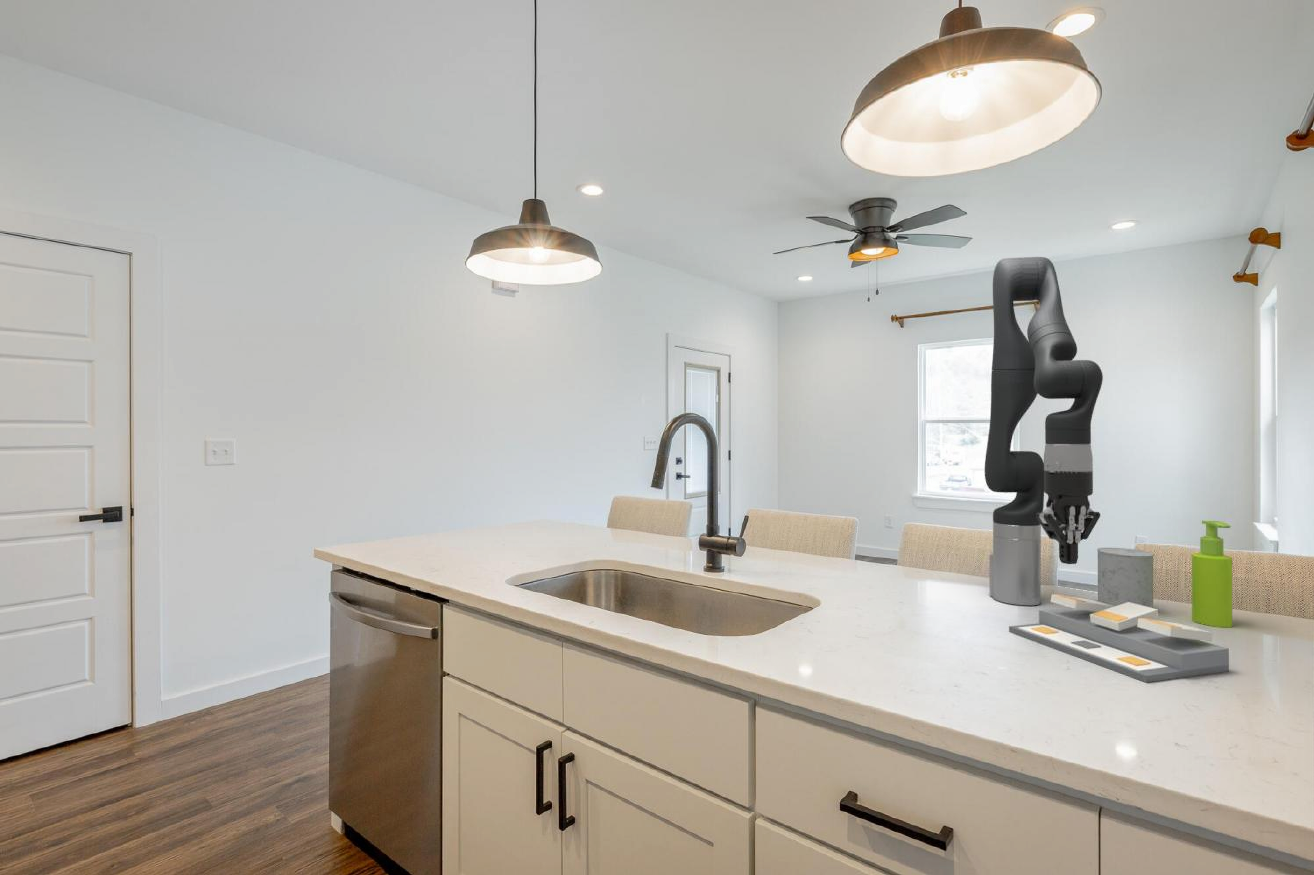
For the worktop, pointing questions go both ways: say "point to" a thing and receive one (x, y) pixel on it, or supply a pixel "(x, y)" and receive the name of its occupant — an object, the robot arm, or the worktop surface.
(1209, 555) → the soap dispenser
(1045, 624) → the switch unit
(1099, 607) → the plate
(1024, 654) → the worktop surface
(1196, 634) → the rocker right
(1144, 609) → the rocker middle
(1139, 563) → the grey concrete cylinder
